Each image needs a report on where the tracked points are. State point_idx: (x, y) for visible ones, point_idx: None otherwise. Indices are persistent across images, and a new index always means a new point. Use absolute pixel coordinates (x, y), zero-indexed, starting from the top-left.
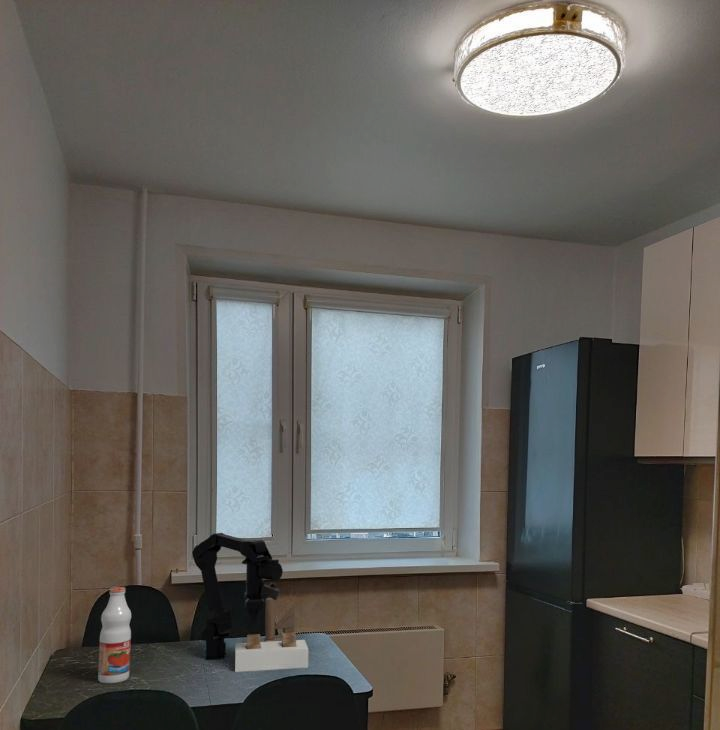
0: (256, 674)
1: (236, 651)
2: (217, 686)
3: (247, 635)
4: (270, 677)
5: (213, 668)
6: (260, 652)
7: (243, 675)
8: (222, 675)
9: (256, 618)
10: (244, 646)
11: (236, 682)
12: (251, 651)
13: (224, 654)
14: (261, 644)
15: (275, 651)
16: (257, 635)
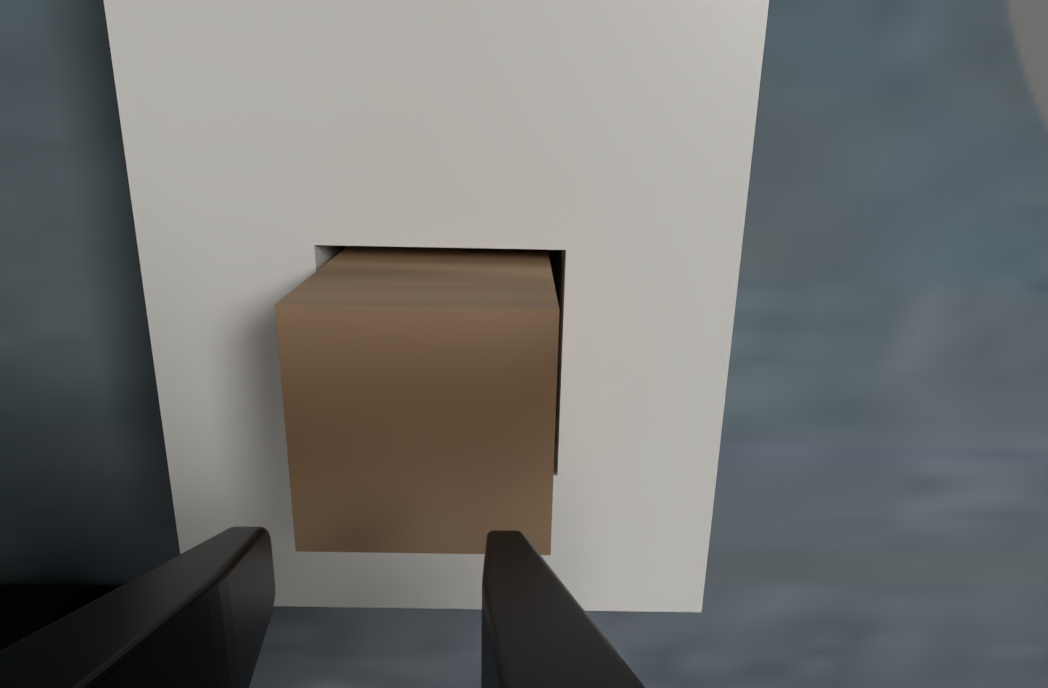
0: (810, 277)
1: (639, 600)
2: (1045, 636)
3: (350, 545)
4: (981, 123)
5: (479, 670)
6: (731, 268)
7: (798, 411)
8: (730, 597)
9: (624, 684)
10: None
11: (1001, 482)
12: (703, 407)
13: (87, 600)
14: (307, 230)
15: (760, 6)
16: (379, 361)
